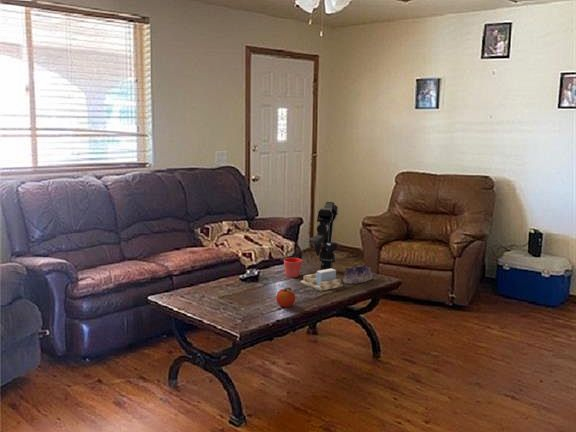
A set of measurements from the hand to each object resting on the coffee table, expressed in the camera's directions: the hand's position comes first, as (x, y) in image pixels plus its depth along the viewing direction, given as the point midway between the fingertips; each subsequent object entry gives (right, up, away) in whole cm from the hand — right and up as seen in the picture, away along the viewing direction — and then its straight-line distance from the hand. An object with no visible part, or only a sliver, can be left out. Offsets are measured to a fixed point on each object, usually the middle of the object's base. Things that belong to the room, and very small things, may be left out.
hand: (322, 257), depth 343 cm
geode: (+20, -14, +2) cm, 24 cm away
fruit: (-22, -21, -47) cm, 56 cm away
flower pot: (-18, -12, +7) cm, 22 cm away
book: (+1, -14, -11) cm, 18 cm away
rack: (-1, -15, -8) cm, 17 cm away
